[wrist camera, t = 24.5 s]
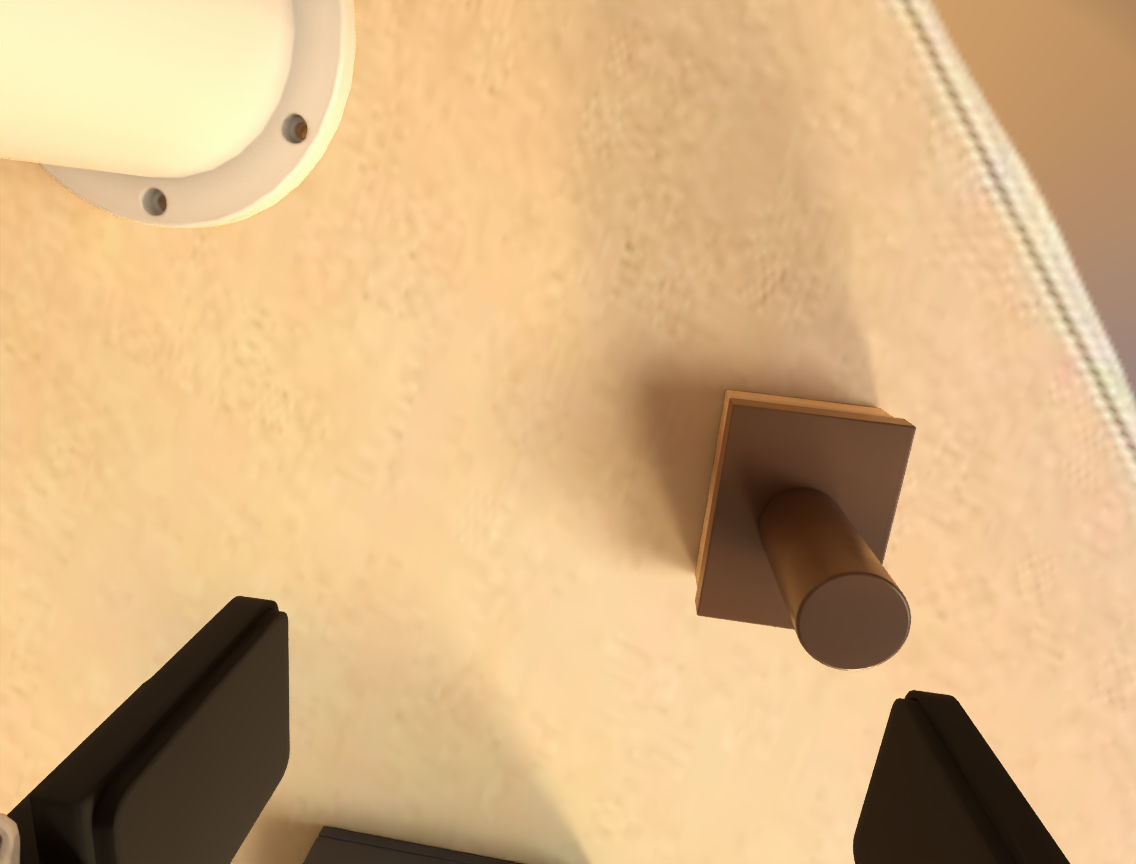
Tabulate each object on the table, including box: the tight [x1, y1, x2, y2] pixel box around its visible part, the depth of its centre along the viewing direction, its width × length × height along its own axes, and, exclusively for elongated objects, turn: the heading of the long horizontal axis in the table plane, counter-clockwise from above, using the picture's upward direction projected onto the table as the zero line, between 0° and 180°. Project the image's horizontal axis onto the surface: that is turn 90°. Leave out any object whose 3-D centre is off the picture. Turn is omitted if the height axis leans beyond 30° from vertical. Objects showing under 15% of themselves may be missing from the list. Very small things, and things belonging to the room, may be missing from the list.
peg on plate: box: [695, 390, 916, 671], centre depth 21 cm, size 7×5×9 cm
